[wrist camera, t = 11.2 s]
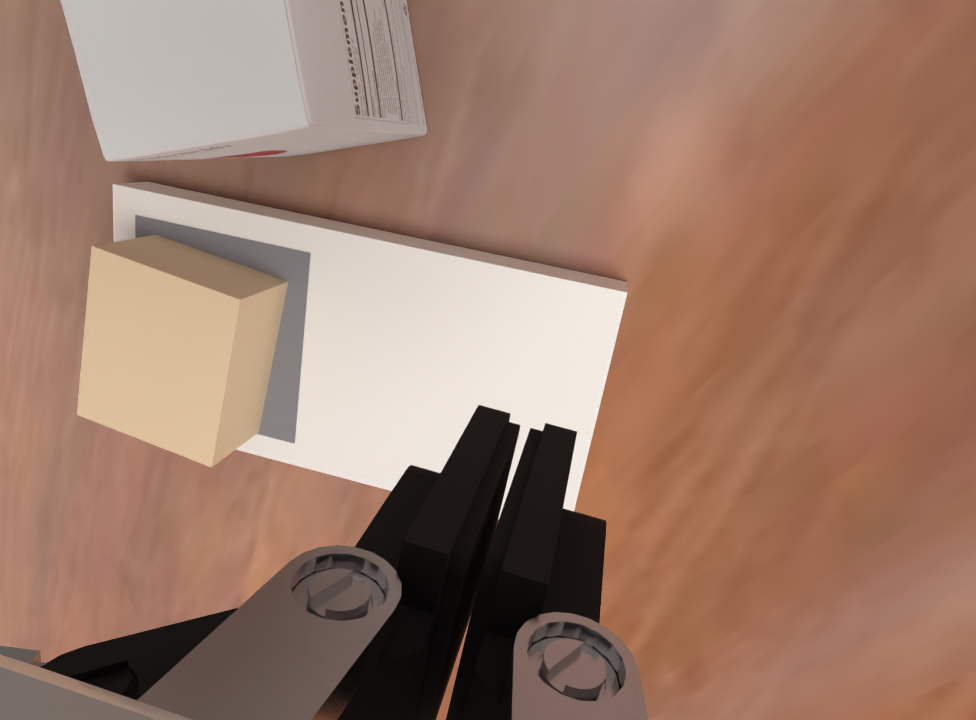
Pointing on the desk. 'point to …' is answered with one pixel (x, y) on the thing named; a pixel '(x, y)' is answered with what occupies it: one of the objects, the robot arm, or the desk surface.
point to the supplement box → (245, 76)
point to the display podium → (398, 336)
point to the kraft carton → (178, 346)
